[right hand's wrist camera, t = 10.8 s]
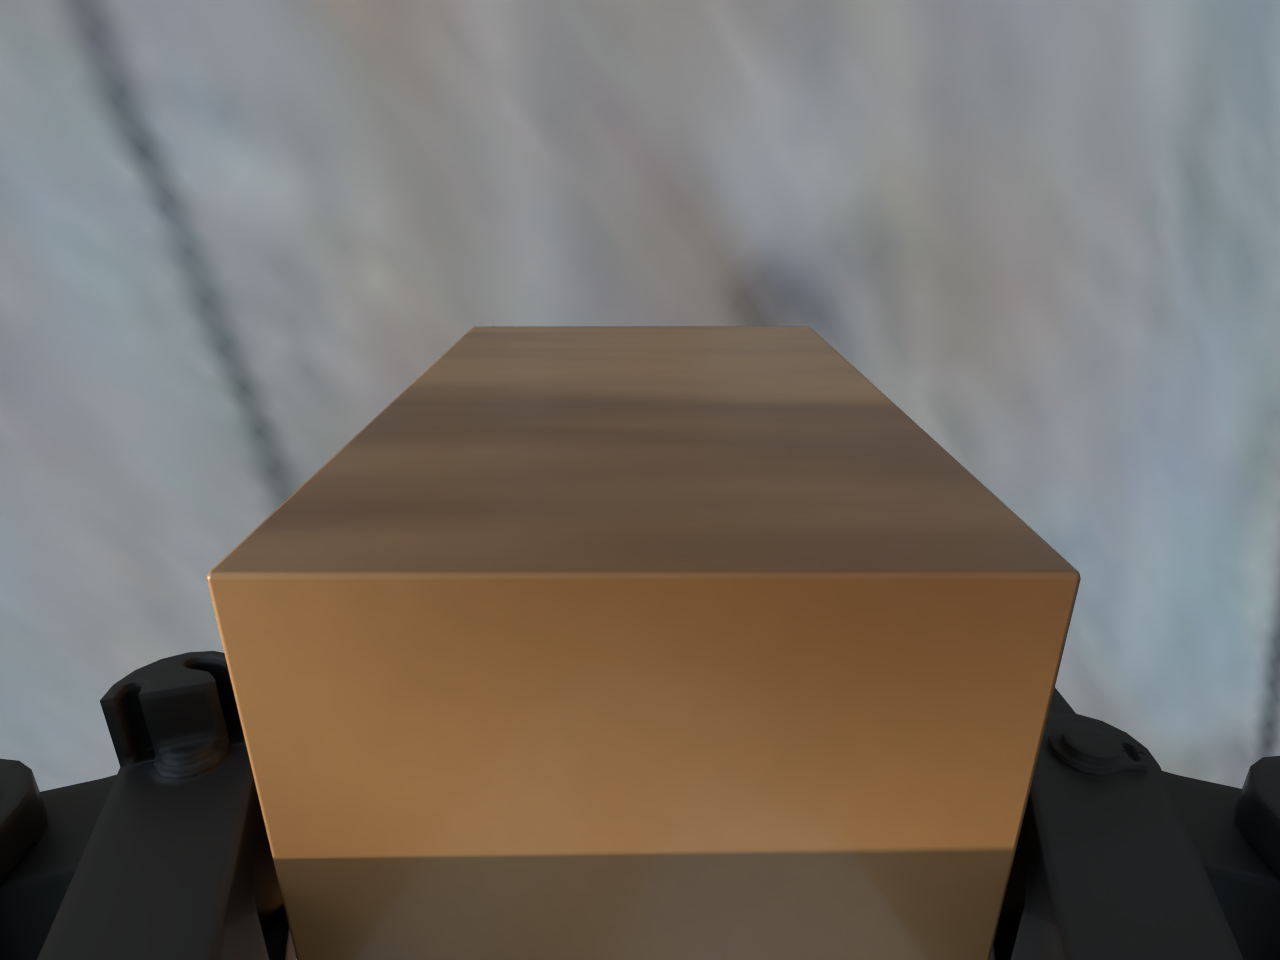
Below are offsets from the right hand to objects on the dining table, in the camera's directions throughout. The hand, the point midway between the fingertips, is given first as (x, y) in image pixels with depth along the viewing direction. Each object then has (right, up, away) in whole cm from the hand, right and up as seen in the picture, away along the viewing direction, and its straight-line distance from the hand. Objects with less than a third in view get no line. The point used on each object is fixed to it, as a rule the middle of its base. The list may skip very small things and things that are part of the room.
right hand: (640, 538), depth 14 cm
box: (0, -6, +3) cm, 7 cm away
